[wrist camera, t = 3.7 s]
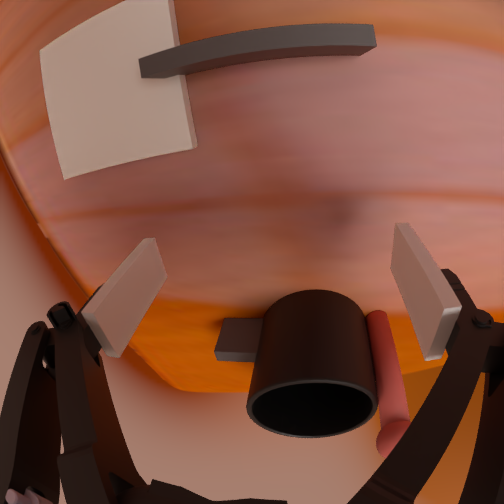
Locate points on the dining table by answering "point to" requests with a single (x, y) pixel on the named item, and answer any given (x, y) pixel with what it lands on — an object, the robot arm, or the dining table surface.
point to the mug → (313, 367)
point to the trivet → (115, 89)
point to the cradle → (276, 47)
